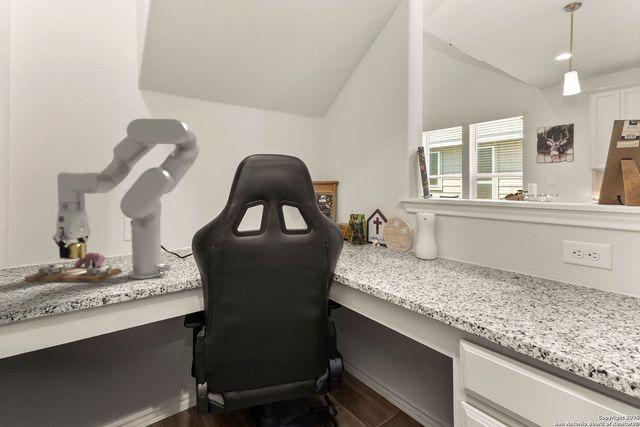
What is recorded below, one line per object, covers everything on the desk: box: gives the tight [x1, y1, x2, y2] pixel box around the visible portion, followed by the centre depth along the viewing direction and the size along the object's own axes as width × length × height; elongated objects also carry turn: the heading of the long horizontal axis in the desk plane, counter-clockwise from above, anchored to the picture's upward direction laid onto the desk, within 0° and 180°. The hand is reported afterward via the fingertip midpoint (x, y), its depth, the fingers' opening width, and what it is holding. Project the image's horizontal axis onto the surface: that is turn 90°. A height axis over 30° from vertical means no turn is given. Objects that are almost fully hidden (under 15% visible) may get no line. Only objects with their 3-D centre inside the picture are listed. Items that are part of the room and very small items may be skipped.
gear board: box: [24, 259, 123, 283], centre depth 116 cm, size 26×12×6 cm, turn 91°
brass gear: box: [59, 241, 87, 261], centre depth 115 cm, size 7×7×5 cm
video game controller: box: [73, 252, 106, 268], centre depth 130 cm, size 10×5×7 cm, turn 85°
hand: (73, 255), depth 116 cm, fingers closed on brass gear, 7 cm apart
